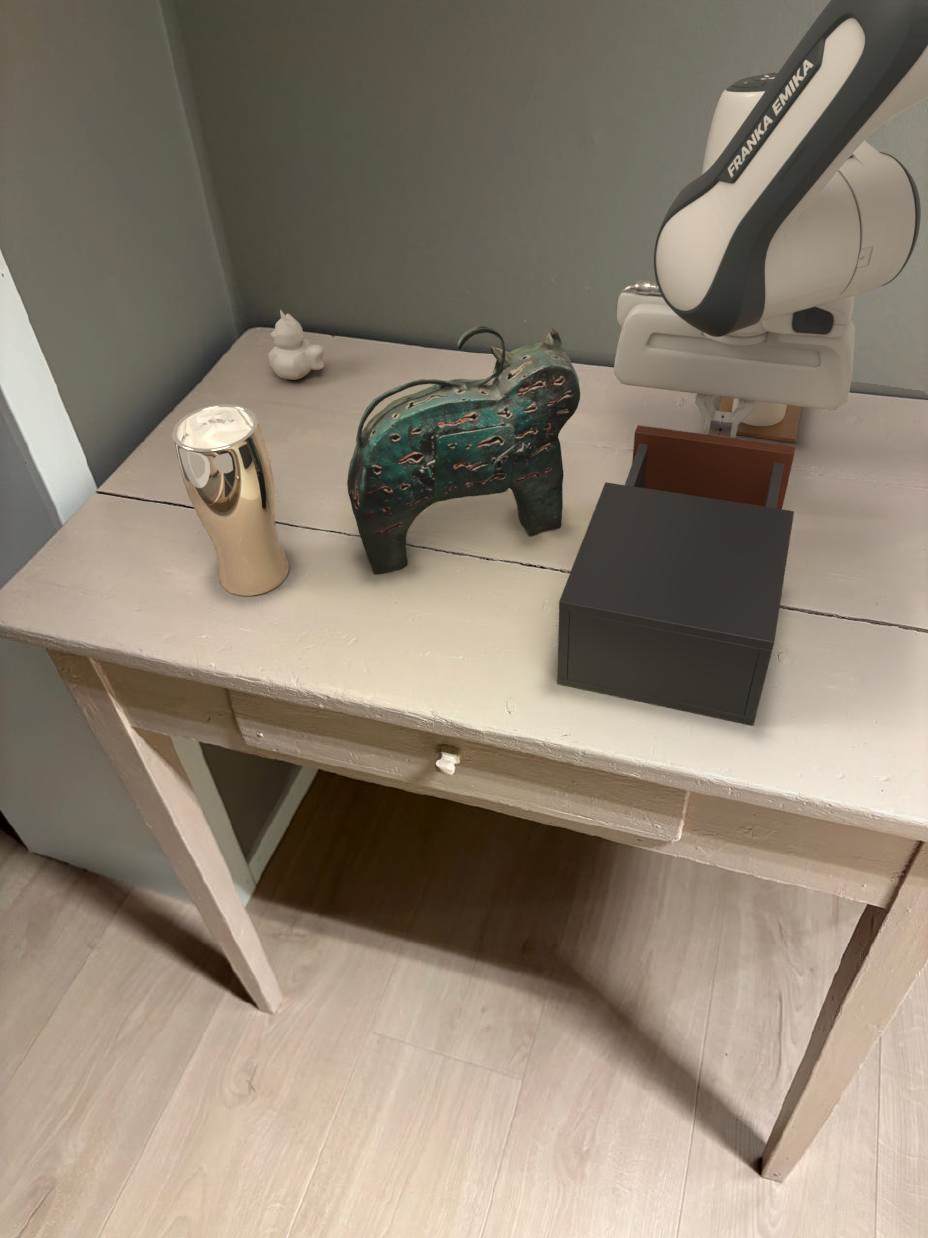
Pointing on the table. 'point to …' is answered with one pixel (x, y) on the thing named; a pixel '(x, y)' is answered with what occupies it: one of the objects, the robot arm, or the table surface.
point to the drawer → (711, 466)
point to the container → (763, 413)
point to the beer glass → (233, 494)
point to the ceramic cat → (465, 446)
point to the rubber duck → (293, 350)
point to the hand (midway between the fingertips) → (720, 433)
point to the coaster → (779, 431)
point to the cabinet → (675, 601)
